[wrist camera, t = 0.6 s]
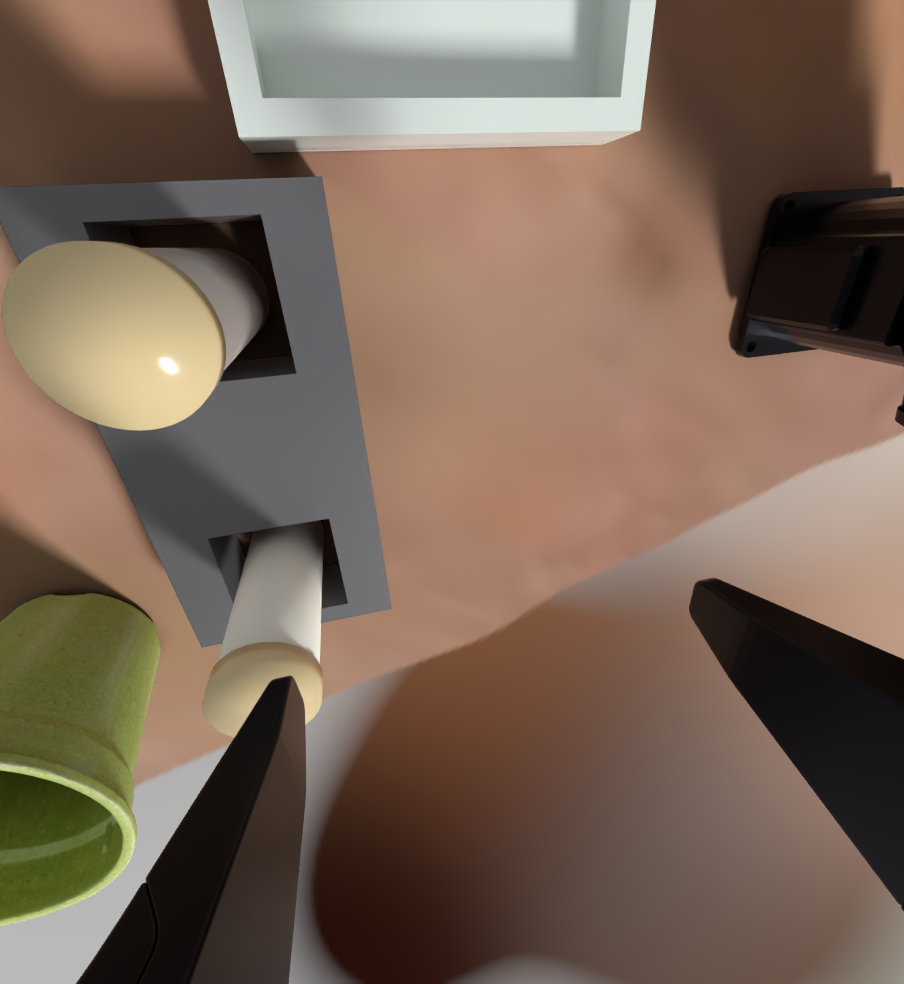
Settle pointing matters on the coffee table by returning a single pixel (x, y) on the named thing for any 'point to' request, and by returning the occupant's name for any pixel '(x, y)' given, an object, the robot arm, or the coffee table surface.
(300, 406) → the fuse holder
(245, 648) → the cylinder
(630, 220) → the coffee table surface
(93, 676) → the plant pot
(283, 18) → the parts tray
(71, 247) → the cream capped cylinder
